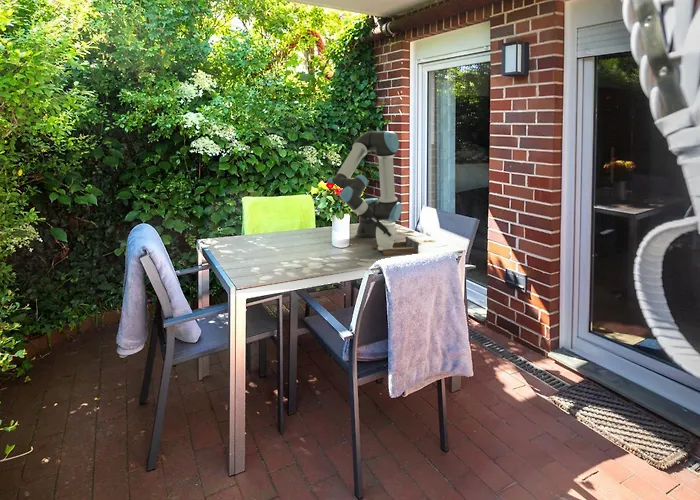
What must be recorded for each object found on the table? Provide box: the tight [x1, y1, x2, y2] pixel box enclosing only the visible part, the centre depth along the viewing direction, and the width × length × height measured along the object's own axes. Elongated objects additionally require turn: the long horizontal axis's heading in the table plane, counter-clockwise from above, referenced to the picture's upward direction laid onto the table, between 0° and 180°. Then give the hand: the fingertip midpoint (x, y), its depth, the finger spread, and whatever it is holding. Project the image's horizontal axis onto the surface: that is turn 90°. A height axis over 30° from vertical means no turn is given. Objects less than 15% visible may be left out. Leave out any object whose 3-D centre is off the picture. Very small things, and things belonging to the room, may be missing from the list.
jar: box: [375, 220, 396, 252], centre depth 284 cm, size 11×10×15 cm
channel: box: [373, 235, 419, 256], centre depth 287 cm, size 16×20×6 cm
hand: (390, 237), depth 285 cm, fingers closed on jar, 10 cm apart
